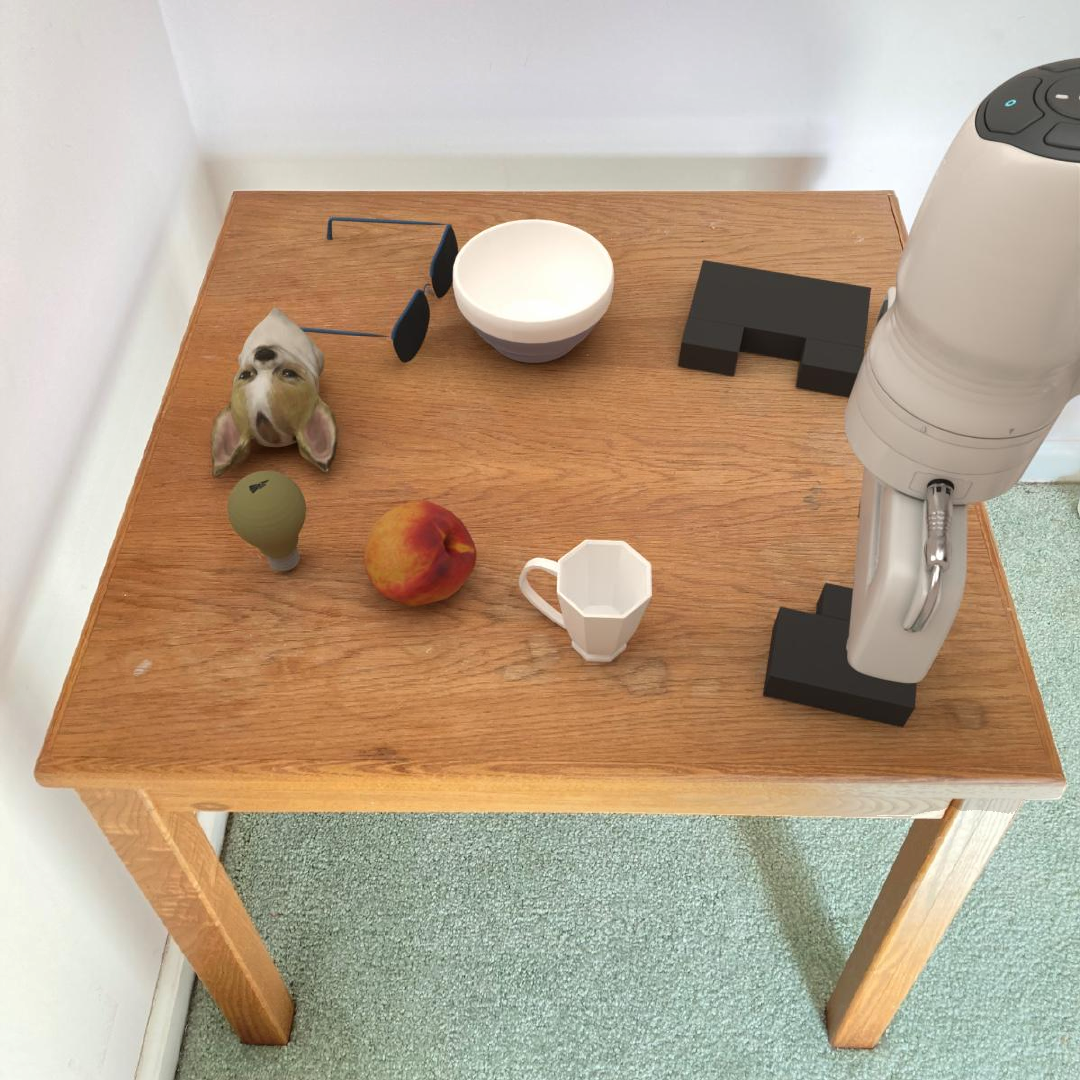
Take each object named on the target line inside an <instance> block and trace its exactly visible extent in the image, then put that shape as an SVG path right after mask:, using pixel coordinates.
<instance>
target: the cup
mask: <svg viewBox="0 0 1080 1080" xmlns="http://www.w3.org/2000/svg"><path fill="white" fill-rule="evenodd" d="M534 569H537V570H542V571H544V572H546V573H548V574H550V575H552V576H554V577H556V578H557V579H556V595H557V600H558V604H559V606H560V611H561V612H559V611H558V610H556V609H555V608H554V607H553V606H552V605H551V604H550V603H549V602H547V601H546V600H545V599H543V598H542V597H541V596H540V595H539V594H538V593H537V592H536V591H535V590H534V589H533V588H532V587H531V585H530V583H529V580H528V578H527V577H528V572H529V571H532V570H534ZM652 580H653V579H652V563H651V562H650V561H649V560H647V559H646V558H645V557H644V556H642V554H640V553H639V552H638V551H636V549H635V548H633V547H632V546H631V545H629V544H628V543H627V542H626V541H624V540H613V539H610V540H609V539H608V540H607V539H584V540H583V541H582V542H581V543H579V544H578V545H577V546H575V547H573V549H571V550H570V551H568V552H567V553H566V554H565V555H563V556H562V557H560V558H559V559H558V560H557V561H554V560H552V559H548V558H545V557H535V558H532V559H529V560H527V561H526V564H525V565H524V566H523V568H522V571H521V573H520V574H519V577H518V586H519V589H520V591H521V593H522V595H523V596H524V597H525V598H526V599H527V601H529V603H530V604H532V605H533V606H534V607H535V608H536V609H537V610H539V612H541V613H542V614H543V615H545V616H546V617H547V618H548V619H549V620H551V621H552V622H553V623H555V624H557V625H558V626H559V627H561V628H562V629H565V630H566V631H567V634H568V636H569V638H570V640H571V648H573V649H574V650H575V652H577V653H578V654H579V655H580V656H581V657H582V658H583V659H584V660H585V661H586V662H600V663H611V662H612V661H613V660H615V659H616V658H617V657H618V656H619V655H621V654H622V653H623V652H624V651H626V650H627V643H628V642H629V641H630V639H631V638H632V637H633V636H634V635H635V632H636V631H637V630H638V629H639V625H640V623H641V621H642V619H643V616H644V614H645V612H646V610H647V608H648V605H649V603H650V601H651V599H652V596H653V591H652V590H653V589H652V588H653V586H652V582H653V581H652Z"/></svg>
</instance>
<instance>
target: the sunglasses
mask: <svg viewBox="0 0 1080 1080" xmlns="http://www.w3.org/2000/svg"><path fill="white" fill-rule="evenodd" d="M333 222H352V223H353V222H355V223H374V224H376V223H377V224H392V225H393V224H394V225H415V226H445V228H444V231H443V234H442V236H441V239H440V241H439V244H438V246H437V249H436V251H435V253H434V255H433V257H432V259H431V262H430V267H429V278H431V279H430V280H431V284H430V283H425V284H424V286H423V288H422V289H419V288H418V289H416V291H415V292H414V293H413V295H412V297H411V298H410V300H409V301H408V303H407V304H406V307H405V308H404V309H403V311H402V312H401V314H400V315H399V317H398V319H397V320H396V322H395V324H394V325H393V327H392V331H391V333H390V334H391V335H390V336H389V335H383V334H377V333H376V334H375V333H368V332H359V331H350V330H338V329H325V328H317V327H316V328H315V327H313V328H312V327H304V326H299V328H300V329H301V330H303V331H304V332H305V333H315V334H316V333H317V334H329V335H339V336H341V335H343V336H353V337H354V336H355V337H356V336H357V337H369V338H390V339H391V340H392V345H393V349H394V352H395V354H396V356H397V358H398V359H399V361H400V362H401V363H403V364H405V363H406V364H407V363H409V362H411V361H412V360H413V359H414V358H415V357H416V355H417V354H418V352H419V351H420V349H421V348H422V346H423V343H424V341H425V339H426V336H427V333H428V329H429V326H430V319H431V308H430V304H429V303H430V302H429V300H428V297H427V295H426V294H425V293H426V292H427V294H428V295H429V296H431V297H434V296H436V298H438V299H441V298H443V297H444V296H446V294H447V293H448V292H449V290H450V289H451V287H452V285H453V266H454V263H455V260H456V257H457V255H458V253H459V246H458V245H459V244H458V239H457V237H456V236H457V235H456V232H455V231H454V228H453V224H452V223H448V224H447V223H442V222H433V221H419V220H402V219H387V218H386V219H384V218H365V217H342V216H339V217H338V216H331V217H330V218H328V220H327V228H326V239H328V240H333ZM431 285H432V289H431V288H429V287H427V286H431Z"/></svg>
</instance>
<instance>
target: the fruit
mask: <svg viewBox="0 0 1080 1080" xmlns="http://www.w3.org/2000/svg"><path fill="white" fill-rule="evenodd" d="M477 553H478V552H477V548H476V543H475V542H474V539H473V537H472V535H471V534H470V532H469V529H467V527H466V525H465V524H464V522H463V521H462V520H461V518H459V517H458V516H456V515H455V513H453V512H452V511H451V510H449V509H448V508H445V507H443V506H441V505H439V504H436V503H434V502H431V501H428V500H417V501H415V500H414V501H410V502H406V503H404V504H401V505H397V506H395V507H393V508H392V509H390V510H388V511H386V512H385V513H384V514H383V515H382V516H380V517H379V518H378V519H377V520H376V522H375V523H373V525H372V527H371V528H370V531H369V533H368V535H367V537H366V539H365V542H364V547H363V552H362V558H363V559H362V560H363V565H364V570H365V572H366V575H367V577H368V579H369V581H370V583H371V584H372V585H373V587H374V588H375V589H376V590H377V591H378V593H380V595H382V596H383V597H385V598H387V599H390V600H392V601H396V602H400V603H402V604H404V605H405V606H406V605H407V606H412V607H413V606H422V605H423V606H424V605H428V604H431V603H436V602H439V601H443V600H446V599H448V598H450V597H451V596H452V595H454V594H455V593H456V592H457V591H458V590H460V589H461V587H462V586H463V585H464V583H465V582H466V581H467V580H468V578H469V577H470V575H471V574H472V572H473V570H474V568H475V566H476V564H477V557H478V556H477V555H478V554H477Z"/></svg>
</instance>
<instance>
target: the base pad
mask: <svg viewBox="0 0 1080 1080" xmlns="http://www.w3.org/2000/svg"><path fill="white" fill-rule="evenodd" d="M701 262H702V263H701V266H700V270H699V275H698V276H697V277H698V278H697V282H696V286H695V288H694V292H693V296H692V300H691V304H690V307H689V311H688V315H687V319H686V322H685V325H684V330H683V334H682V338H681V342H680V349H679V355H678V360H677V361H678V363H677V367H678V368H685V369H691V370H695V371H701V372H702V371H703V372H707V373H712V374H719V375H723V376H727V377H728V376H729V377H734V376H735V373H736V370H737V369H736V368H737V363H738V358H739V354H740V352H744V353H749V354H755V355H761V356H764V357H765V356H766V357H771V358H777V359H783V360H788V361H794V362H799V364H798V369H797V376H796V382H795V388H796V389H802V390H807V391H812V392H818V393H822V394H827V395H835V396H838V397H844V398H845V397H846V398H849V397H850V394H851V392H852V389H853V386H854V383H855V381H856V378H857V375H858V372H859V369H860V367H861V364H862V361H863V358H864V356H865V348H866V337H867V330H868V320H869V311H870V302H871V292H872V287H870V286H864V285H858V284H851V283H844V282H840V281H834V280H828V279H823V278H815V277H809V276H803V275H797V274H791V273H785V272H780V271H779V272H778V271H774V270H767V269H760V268H754V267H749V266H742V265H738V264H737V265H736V264H730V263H724V262H719V261H712V260H707V259H702V261H701Z"/></svg>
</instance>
